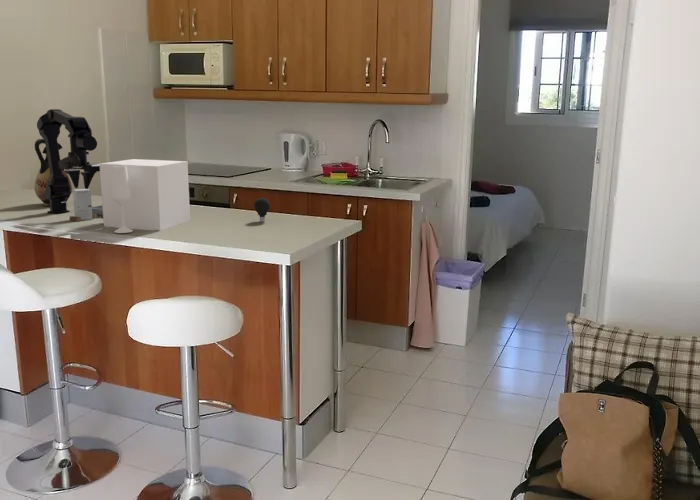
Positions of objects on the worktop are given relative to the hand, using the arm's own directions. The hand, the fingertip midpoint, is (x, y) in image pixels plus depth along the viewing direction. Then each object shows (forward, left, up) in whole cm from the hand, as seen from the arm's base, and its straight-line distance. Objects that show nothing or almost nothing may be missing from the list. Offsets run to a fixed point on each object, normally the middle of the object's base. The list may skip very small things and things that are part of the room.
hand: (81, 188), depth 271 cm
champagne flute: (+32, -10, -13) cm, 36 cm away
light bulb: (+66, +31, -13) cm, 74 cm away
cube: (+28, +6, -13) cm, 32 cm away
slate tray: (0, +15, -12) cm, 20 cm away
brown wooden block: (0, 0, -12) cm, 13 cm away
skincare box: (0, 0, -13) cm, 13 cm away
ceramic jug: (-40, +18, -13) cm, 46 cm away
